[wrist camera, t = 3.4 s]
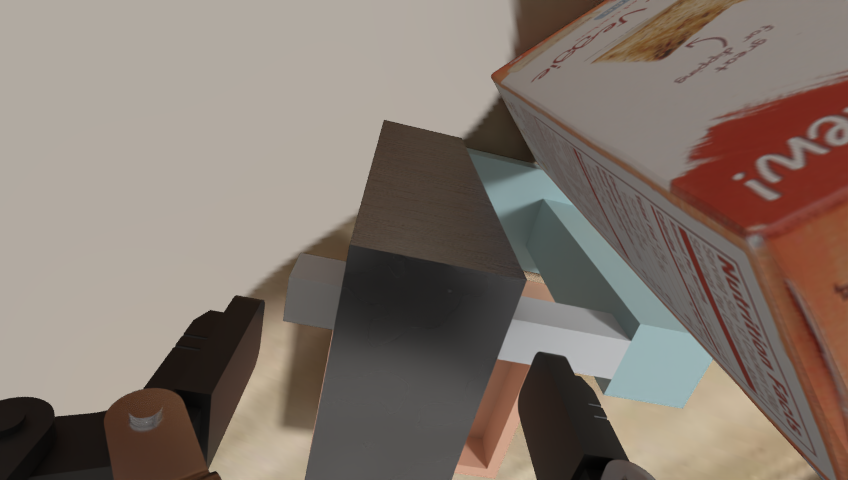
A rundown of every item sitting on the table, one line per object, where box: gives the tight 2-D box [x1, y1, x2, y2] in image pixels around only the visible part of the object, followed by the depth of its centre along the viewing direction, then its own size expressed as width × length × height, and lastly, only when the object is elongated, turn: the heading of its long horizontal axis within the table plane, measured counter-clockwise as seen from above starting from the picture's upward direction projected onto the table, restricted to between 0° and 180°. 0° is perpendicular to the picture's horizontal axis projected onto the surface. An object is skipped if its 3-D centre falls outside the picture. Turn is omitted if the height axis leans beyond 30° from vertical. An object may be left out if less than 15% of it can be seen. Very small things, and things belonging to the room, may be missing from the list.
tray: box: [310, 281, 555, 479], centre depth 30 cm, size 14×13×3 cm
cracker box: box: [491, 0, 848, 480], centre depth 14 cm, size 14×6×21 cm, turn 122°
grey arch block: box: [305, 120, 527, 480], centre depth 17 cm, size 8×4×13 cm, turn 167°
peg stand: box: [283, 148, 713, 408], centre depth 21 cm, size 6×14×13 cm, turn 76°
